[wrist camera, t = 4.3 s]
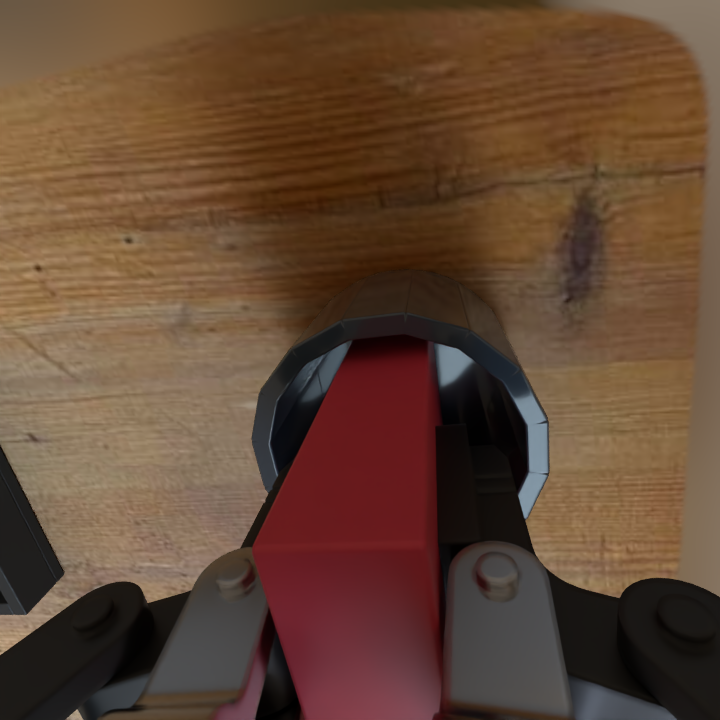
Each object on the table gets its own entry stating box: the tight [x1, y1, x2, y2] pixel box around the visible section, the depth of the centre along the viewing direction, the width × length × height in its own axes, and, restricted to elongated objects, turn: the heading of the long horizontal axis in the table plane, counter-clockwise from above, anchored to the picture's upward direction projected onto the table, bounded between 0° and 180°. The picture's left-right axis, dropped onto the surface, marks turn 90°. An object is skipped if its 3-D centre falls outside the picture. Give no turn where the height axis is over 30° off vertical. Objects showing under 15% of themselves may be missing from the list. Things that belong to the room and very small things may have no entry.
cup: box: [252, 269, 550, 521], centre depth 13 cm, size 7×7×6 cm
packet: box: [252, 334, 446, 720], centre depth 10 cm, size 2×5×10 cm, turn 9°
